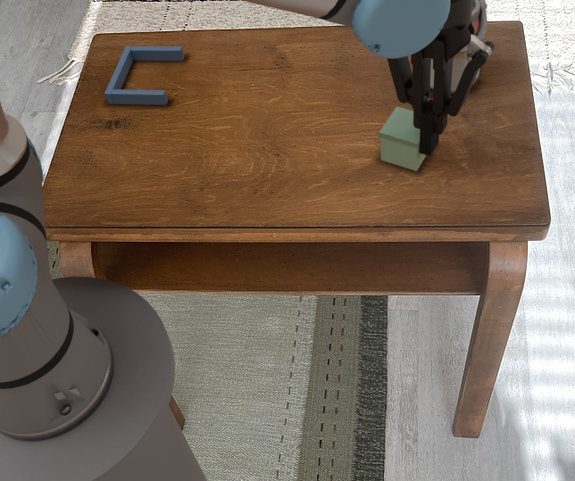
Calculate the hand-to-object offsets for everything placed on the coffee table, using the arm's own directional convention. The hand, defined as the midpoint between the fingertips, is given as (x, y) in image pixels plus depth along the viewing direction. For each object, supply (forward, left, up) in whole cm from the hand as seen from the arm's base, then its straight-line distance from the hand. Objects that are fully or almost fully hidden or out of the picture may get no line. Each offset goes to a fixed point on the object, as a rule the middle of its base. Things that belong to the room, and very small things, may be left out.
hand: (429, 147), depth 93 cm
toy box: (-3, +2, -3) cm, 5 cm away
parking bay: (-42, +16, -3) cm, 44 cm away
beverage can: (+2, +17, -3) cm, 17 cm away
